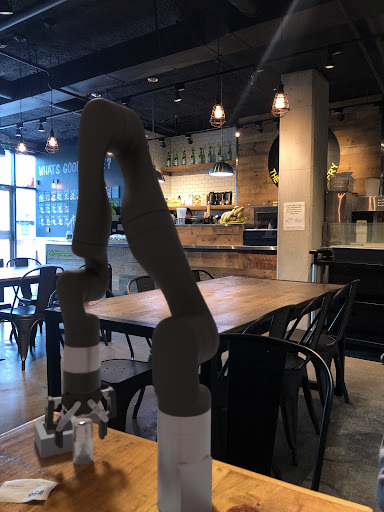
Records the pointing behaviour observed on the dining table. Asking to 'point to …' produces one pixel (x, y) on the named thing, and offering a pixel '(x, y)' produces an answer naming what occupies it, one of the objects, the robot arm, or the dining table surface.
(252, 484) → the dining table surface
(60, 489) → the dining table surface
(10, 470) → the dining table surface
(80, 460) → the peg
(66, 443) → the box
